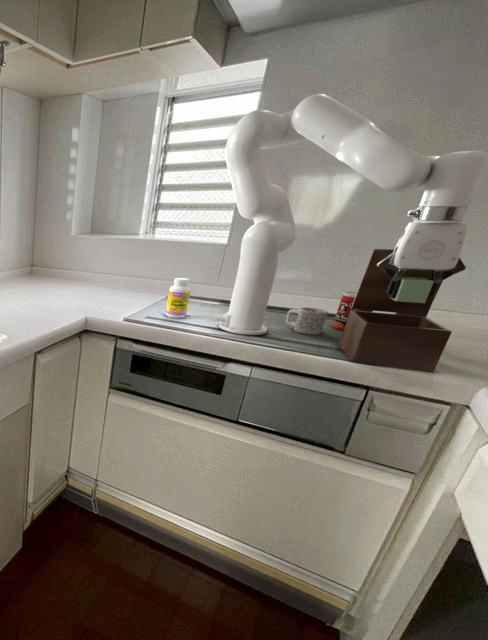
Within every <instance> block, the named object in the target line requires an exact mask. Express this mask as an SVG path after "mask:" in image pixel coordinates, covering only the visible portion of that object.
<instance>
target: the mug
mask: <svg viewBox="0 0 488 640" xmlns="http://www.w3.org/2000/svg"><path fill="white" fill-rule="evenodd" d="M328 313H329V311H328V310H326V309H323V308H317V307H300V308H299V309H295V308H292V309H289V310H288V311H287V313H286V315H285V324H287V325H289V326H292V327H294V328H293V331H294V332H297V333H300V334H305V335H311V336H312V335H313V336H314V335H321V334H322V332H323V328H324V325H325V322H326V319H327V317H328ZM292 314H297V315H298V316H297V317H296V322H293V321H291V320H290V318H291V315H292Z"/></svg>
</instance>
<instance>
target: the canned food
mask: <svg viewBox="0 0 488 640" xmlns="http://www.w3.org/2000/svg"><path fill="white" fill-rule="evenodd" d="M356 294H357V291H353V290H352V291H351V290H350V291H344V292H343V293H342V296H341V298H340V302H339V305H338V307H337V311H336V314H335V317H334V320H333V323H332V327H333V329H335V330H338V331H342V332H343V331H344V328H345V325H346V322H347V319H348V317H349V314H350V311H351V310H353V311H365V312H374V311H370V310H358V309H351V307H352V304H353V301H354V299H355V296H356Z"/></svg>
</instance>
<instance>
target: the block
mask: <svg viewBox="0 0 488 640" xmlns="http://www.w3.org/2000/svg"><path fill="white" fill-rule="evenodd" d="M400 281H401V284H400V287H399V290H398V292H397V295H396V297H395V298H391V299H393V300H395V301H400V302H414V303H425V302H426V299H427V297H428V295H429V292H430V290H431V287H432V285H433V282H434V281H432V280H429V279H426V278H414V277H401V278H400ZM389 298H390V297H389Z"/></svg>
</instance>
